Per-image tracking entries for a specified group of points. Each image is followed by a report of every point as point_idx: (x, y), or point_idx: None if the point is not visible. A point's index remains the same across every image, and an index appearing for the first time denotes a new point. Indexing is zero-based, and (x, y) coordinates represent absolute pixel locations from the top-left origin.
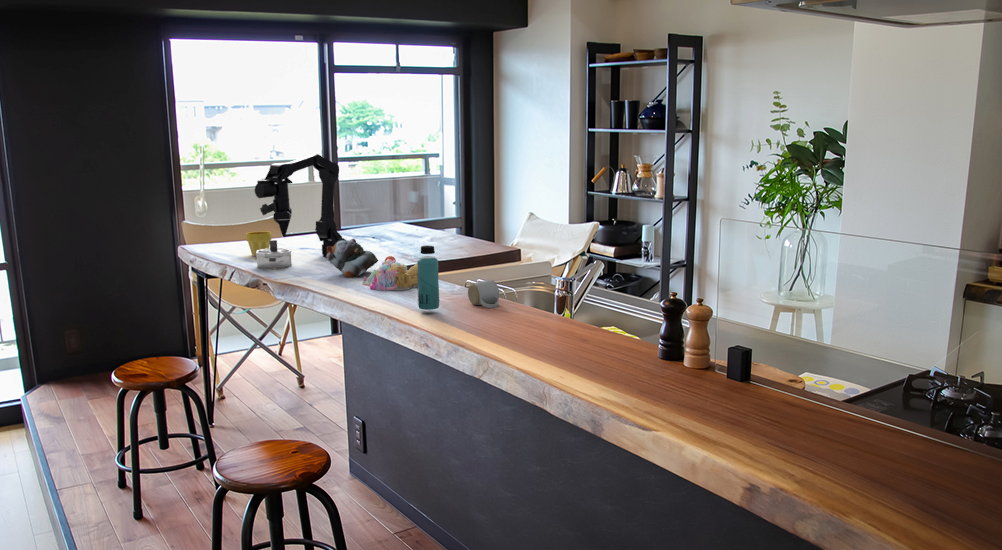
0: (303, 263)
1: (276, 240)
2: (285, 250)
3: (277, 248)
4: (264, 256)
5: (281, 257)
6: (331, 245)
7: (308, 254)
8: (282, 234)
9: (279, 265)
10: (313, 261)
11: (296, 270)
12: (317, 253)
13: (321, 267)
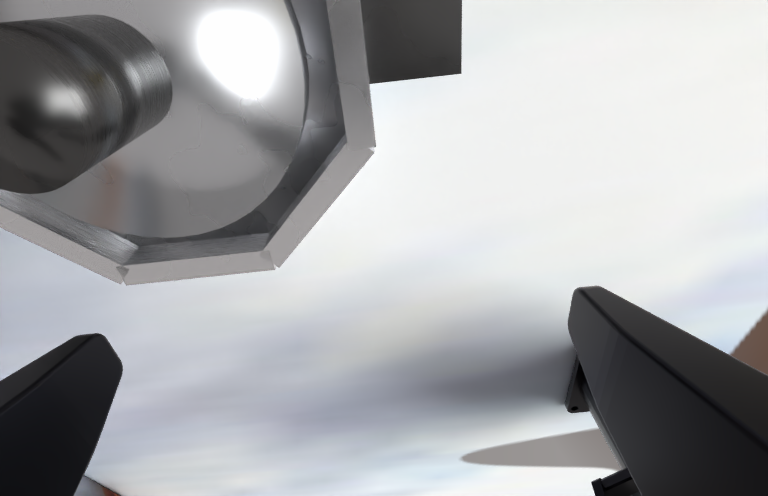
0: (343, 265)
1: (53, 183)
2: (162, 230)
3: (340, 94)
4: None
5: None
6: (612, 446)
7: (755, 243)
8: (44, 365)
9: None
10: (419, 311)
11: (42, 262)
12: (761, 293)
13: (192, 374)
